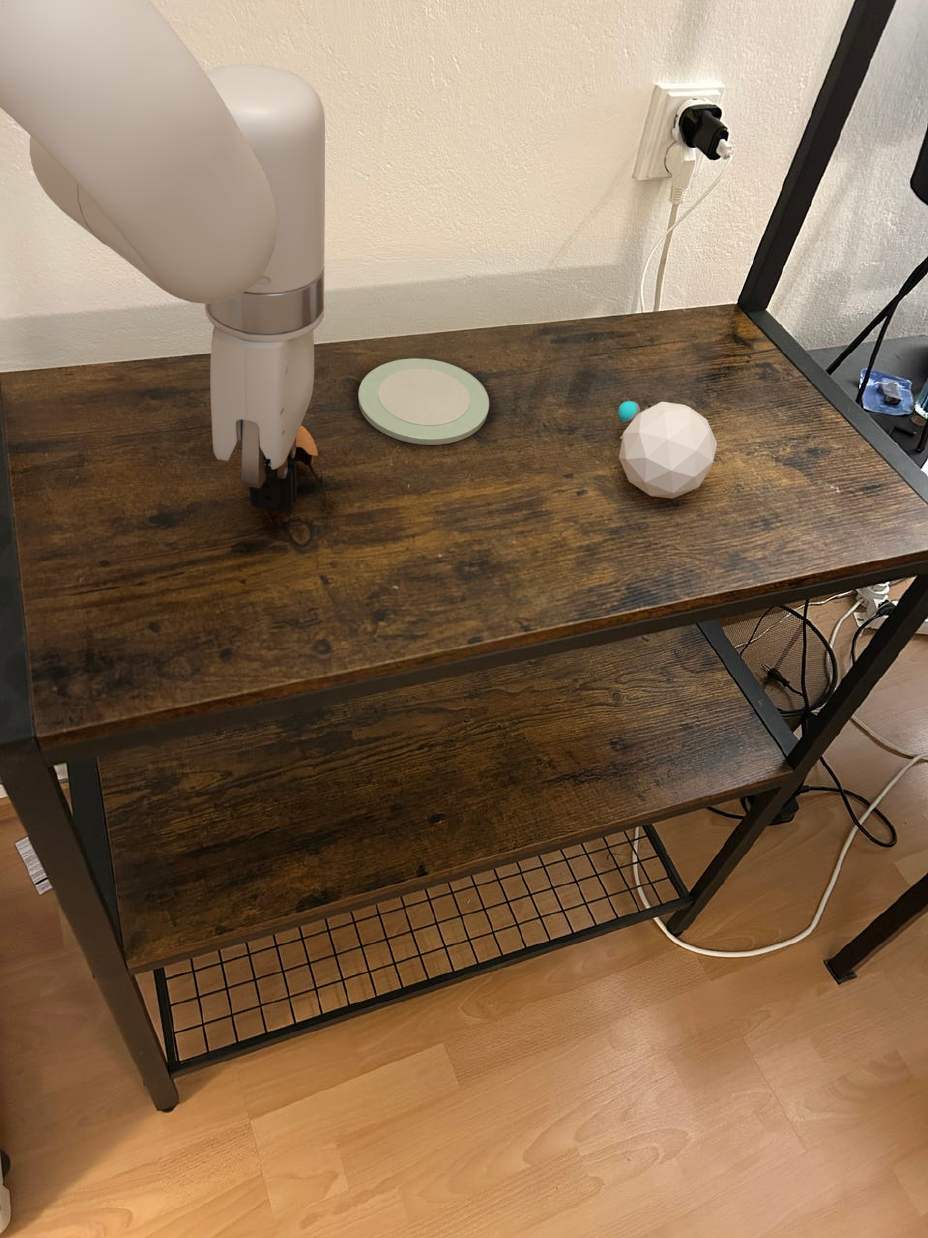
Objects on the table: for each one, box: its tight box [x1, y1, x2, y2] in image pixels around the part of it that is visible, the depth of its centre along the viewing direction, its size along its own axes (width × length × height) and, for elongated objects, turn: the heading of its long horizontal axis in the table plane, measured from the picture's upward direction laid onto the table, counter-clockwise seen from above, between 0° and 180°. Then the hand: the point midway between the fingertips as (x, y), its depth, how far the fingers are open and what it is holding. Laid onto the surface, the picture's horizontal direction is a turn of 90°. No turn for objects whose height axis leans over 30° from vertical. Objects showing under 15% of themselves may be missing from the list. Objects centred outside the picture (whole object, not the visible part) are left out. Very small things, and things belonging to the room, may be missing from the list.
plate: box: [357, 357, 490, 446], centre depth 89 cm, size 12×12×1 cm
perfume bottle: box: [617, 400, 718, 499], centre depth 83 cm, size 8×8×12 cm
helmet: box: [264, 425, 328, 525], centre depth 78 cm, size 6×7×8 cm
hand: (274, 503), depth 75 cm, fingers closed
